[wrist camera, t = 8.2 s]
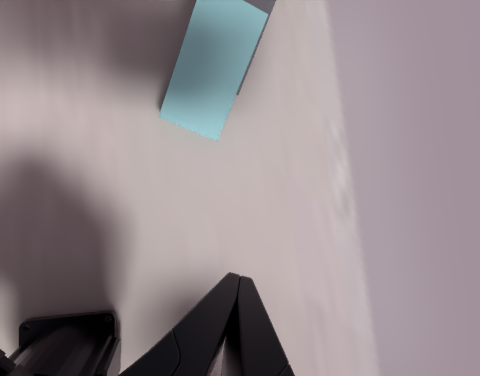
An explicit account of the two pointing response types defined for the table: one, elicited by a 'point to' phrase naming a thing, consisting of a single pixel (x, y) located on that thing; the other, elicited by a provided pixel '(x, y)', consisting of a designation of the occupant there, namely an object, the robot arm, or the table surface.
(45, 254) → the table surface
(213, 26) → the domino
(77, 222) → the table surface
